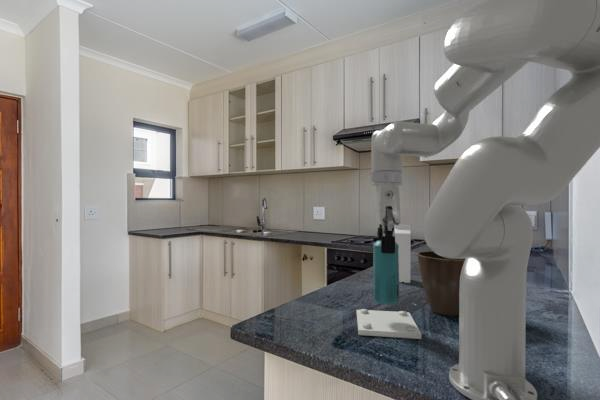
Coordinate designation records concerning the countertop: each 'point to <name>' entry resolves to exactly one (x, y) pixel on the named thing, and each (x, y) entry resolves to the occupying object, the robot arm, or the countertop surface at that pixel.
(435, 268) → the plant pot
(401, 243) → the milk
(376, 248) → the beverage bottle
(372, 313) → the base plate
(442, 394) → the countertop surface
